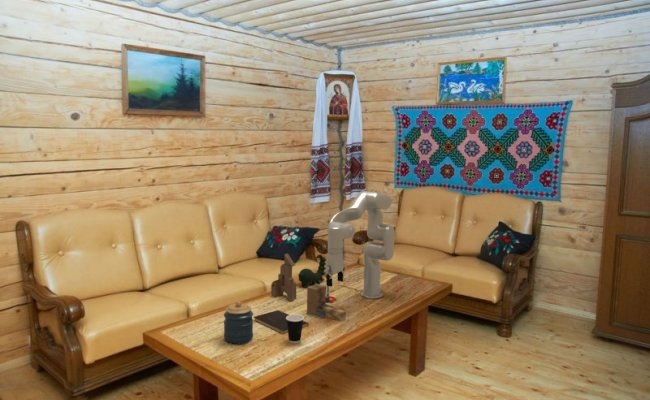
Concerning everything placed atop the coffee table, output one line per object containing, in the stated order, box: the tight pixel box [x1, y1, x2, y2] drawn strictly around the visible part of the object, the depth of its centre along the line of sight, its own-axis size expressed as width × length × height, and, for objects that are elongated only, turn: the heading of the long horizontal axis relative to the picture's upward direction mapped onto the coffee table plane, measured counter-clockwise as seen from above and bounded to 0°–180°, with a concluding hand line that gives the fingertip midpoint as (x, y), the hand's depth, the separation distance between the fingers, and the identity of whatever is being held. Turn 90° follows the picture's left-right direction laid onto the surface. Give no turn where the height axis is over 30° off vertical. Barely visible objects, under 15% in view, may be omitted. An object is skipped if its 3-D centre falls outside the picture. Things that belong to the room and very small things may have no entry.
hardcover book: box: [253, 309, 309, 335], centre depth 244 cm, size 16×23×2 cm
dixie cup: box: [286, 314, 305, 344], centre depth 222 cm, size 8×8×11 cm
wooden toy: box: [270, 253, 297, 302], centre depth 281 cm, size 16×7×25 cm, turn 52°
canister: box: [223, 300, 254, 346], centre depth 223 cm, size 13×13×18 cm
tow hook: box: [326, 285, 337, 303], centre depth 280 cm, size 8×13×9 cm
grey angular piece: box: [306, 283, 335, 319], centre depth 257 cm, size 8×11×14 cm
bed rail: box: [321, 303, 347, 322], centre depth 253 cm, size 13×4×5 cm, turn 54°
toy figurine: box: [297, 254, 326, 288], centre depth 307 cm, size 9×19×25 cm
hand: (334, 283), depth 251 cm, fingers open, 9 cm apart
